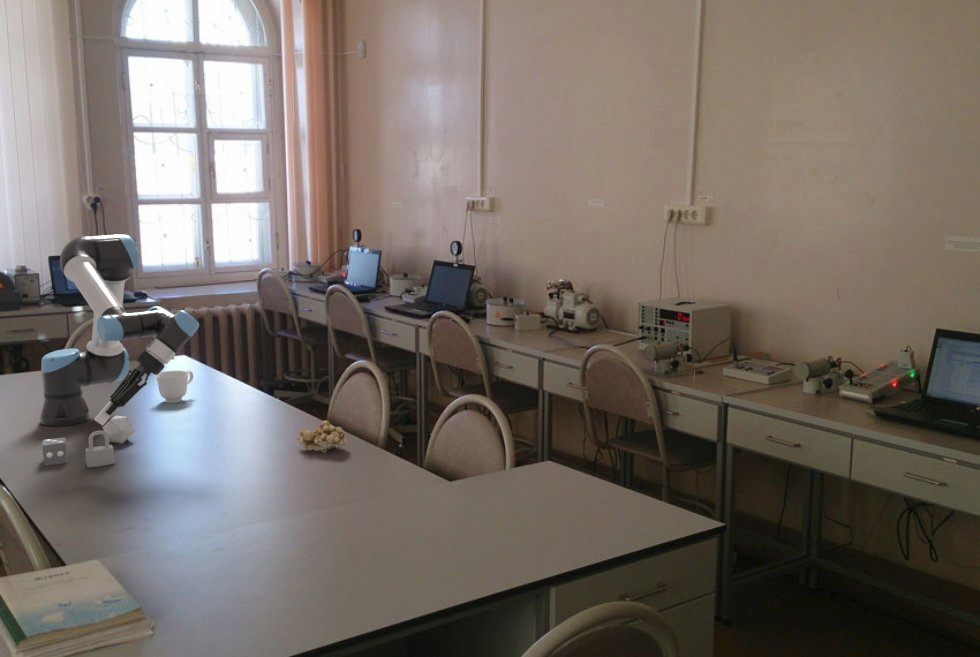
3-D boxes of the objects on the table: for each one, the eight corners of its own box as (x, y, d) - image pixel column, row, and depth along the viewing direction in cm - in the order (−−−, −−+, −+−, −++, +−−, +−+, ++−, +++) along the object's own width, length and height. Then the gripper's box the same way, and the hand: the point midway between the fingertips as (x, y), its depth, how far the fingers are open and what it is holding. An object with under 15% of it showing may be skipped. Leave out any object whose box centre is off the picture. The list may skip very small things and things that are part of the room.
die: (141, 441, 283) (133, 413, 286) (128, 435, 275) (121, 406, 278) (116, 451, 282) (109, 423, 286) (102, 445, 274) (95, 416, 278)
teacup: (204, 398, 334) (203, 371, 332) (171, 406, 322) (169, 379, 320) (182, 393, 341) (181, 367, 339) (149, 402, 328) (147, 375, 326)
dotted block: (44, 459, 263) (42, 439, 262) (67, 457, 266) (65, 436, 265) (44, 466, 258) (42, 445, 257) (67, 463, 260) (65, 442, 259)
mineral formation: (330, 440, 282) (359, 446, 271) (294, 456, 273) (324, 464, 262) (324, 415, 280) (354, 421, 269) (288, 431, 271) (318, 438, 260)
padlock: (112, 460, 262) (110, 427, 261) (115, 464, 259) (112, 430, 257) (86, 464, 259) (83, 430, 257) (88, 468, 255) (85, 434, 254)
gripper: (171, 369, 260) (114, 435, 253) (159, 361, 270) (104, 424, 264) (150, 352, 256) (92, 419, 249) (139, 346, 266) (82, 409, 260)
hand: (98, 422), depth 257 cm, fingers closed
